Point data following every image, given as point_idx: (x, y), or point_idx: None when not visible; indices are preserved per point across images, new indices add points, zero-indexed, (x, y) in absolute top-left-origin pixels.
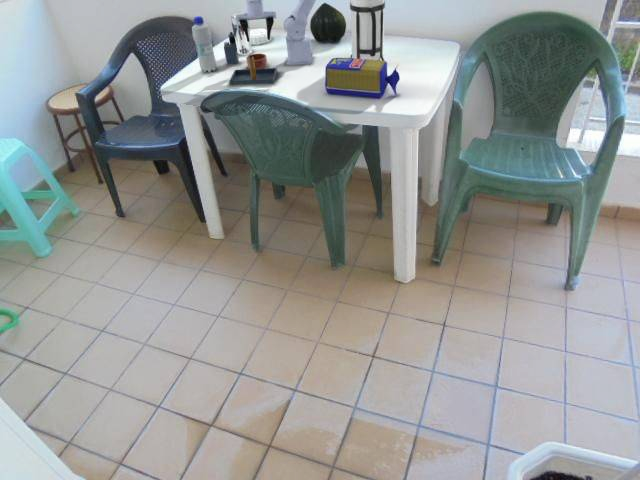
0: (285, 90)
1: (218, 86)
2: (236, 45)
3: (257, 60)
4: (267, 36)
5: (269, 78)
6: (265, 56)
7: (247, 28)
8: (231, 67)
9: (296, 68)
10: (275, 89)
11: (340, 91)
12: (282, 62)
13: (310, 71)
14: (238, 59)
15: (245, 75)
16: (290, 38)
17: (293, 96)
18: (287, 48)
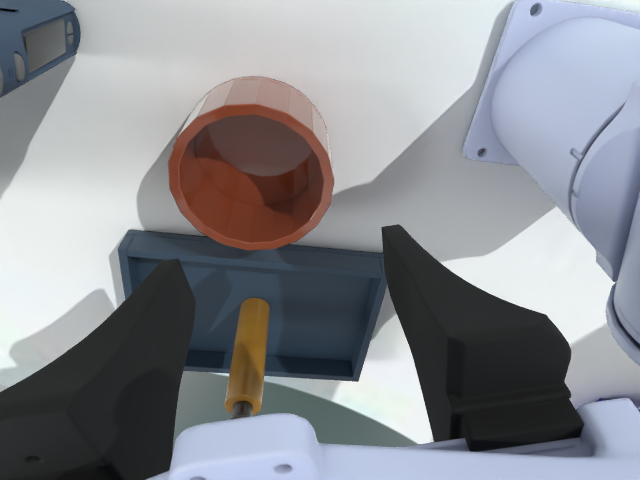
0: (399, 404)
1: (79, 337)
2: (2, 70)
3: (268, 248)
4: (387, 261)
5: (338, 320)
6: (327, 190)
7: (172, 446)
8: (42, 90)
9: (509, 209)
10: (360, 393)
11: None
12: (444, 82)
13: (569, 263)
14: (62, 14)
15: (197, 267)
16: (607, 260)
17: (421, 439)
18: (533, 165)
